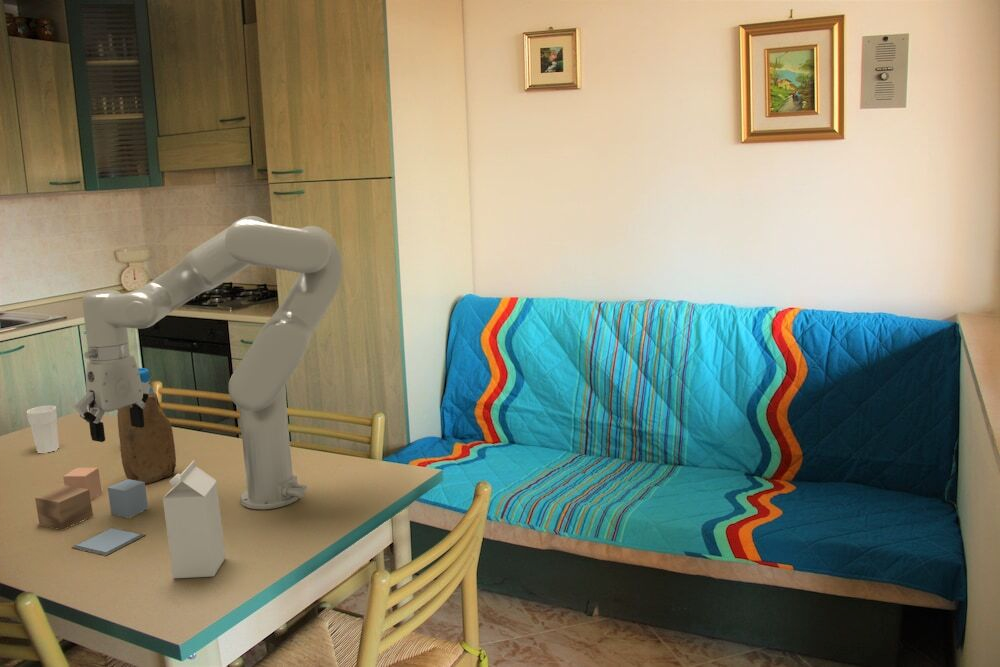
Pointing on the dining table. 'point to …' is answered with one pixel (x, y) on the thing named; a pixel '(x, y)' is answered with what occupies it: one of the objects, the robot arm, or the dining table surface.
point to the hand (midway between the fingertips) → (118, 433)
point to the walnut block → (63, 507)
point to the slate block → (127, 498)
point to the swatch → (108, 541)
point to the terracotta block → (84, 480)
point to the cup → (44, 428)
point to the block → (147, 443)
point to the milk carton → (194, 524)
